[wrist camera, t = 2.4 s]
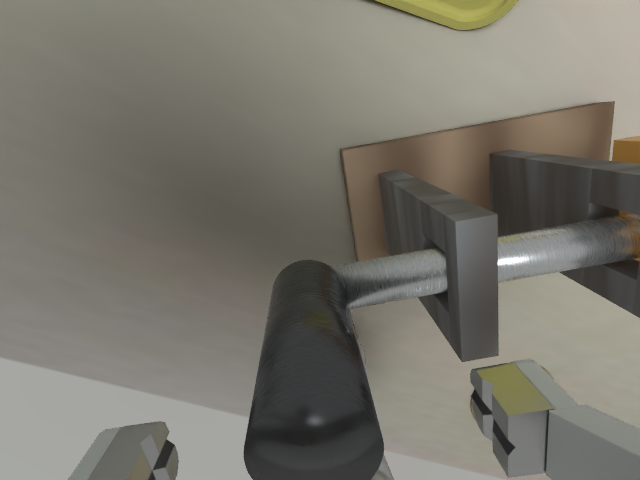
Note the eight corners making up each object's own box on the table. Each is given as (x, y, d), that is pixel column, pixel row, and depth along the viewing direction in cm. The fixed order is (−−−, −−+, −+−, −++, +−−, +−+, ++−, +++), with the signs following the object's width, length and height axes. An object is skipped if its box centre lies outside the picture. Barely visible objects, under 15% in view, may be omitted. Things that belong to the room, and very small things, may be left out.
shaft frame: (358, 272, 28) (411, 409, 15) (340, 149, 25) (386, 176, 11) (586, 231, 28) (856, 332, 15) (596, 102, 25) (954, 74, 11)
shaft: (281, 318, 17) (261, 513, 8) (267, 258, 16) (227, 412, 7) (738, 237, 17) (1191, 352, 8) (753, 171, 16) (1287, 225, 7)
